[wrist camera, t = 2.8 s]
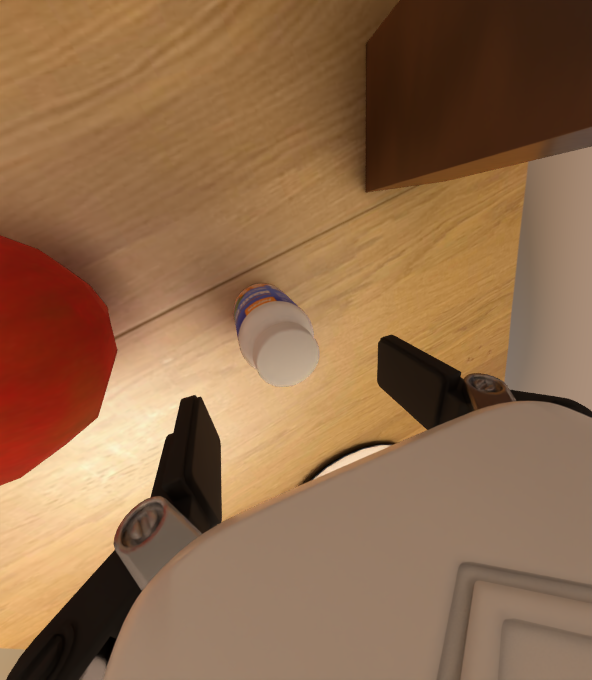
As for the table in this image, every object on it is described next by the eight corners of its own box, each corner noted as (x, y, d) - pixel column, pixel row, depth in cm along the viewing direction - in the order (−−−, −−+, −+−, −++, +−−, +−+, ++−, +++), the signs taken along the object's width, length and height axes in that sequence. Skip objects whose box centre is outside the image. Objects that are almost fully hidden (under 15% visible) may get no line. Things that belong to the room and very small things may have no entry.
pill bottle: (254, 270, 20) (282, 295, 11) (298, 303, 22) (346, 345, 14) (221, 318, 21) (222, 375, 12) (267, 345, 23) (294, 407, 15)
